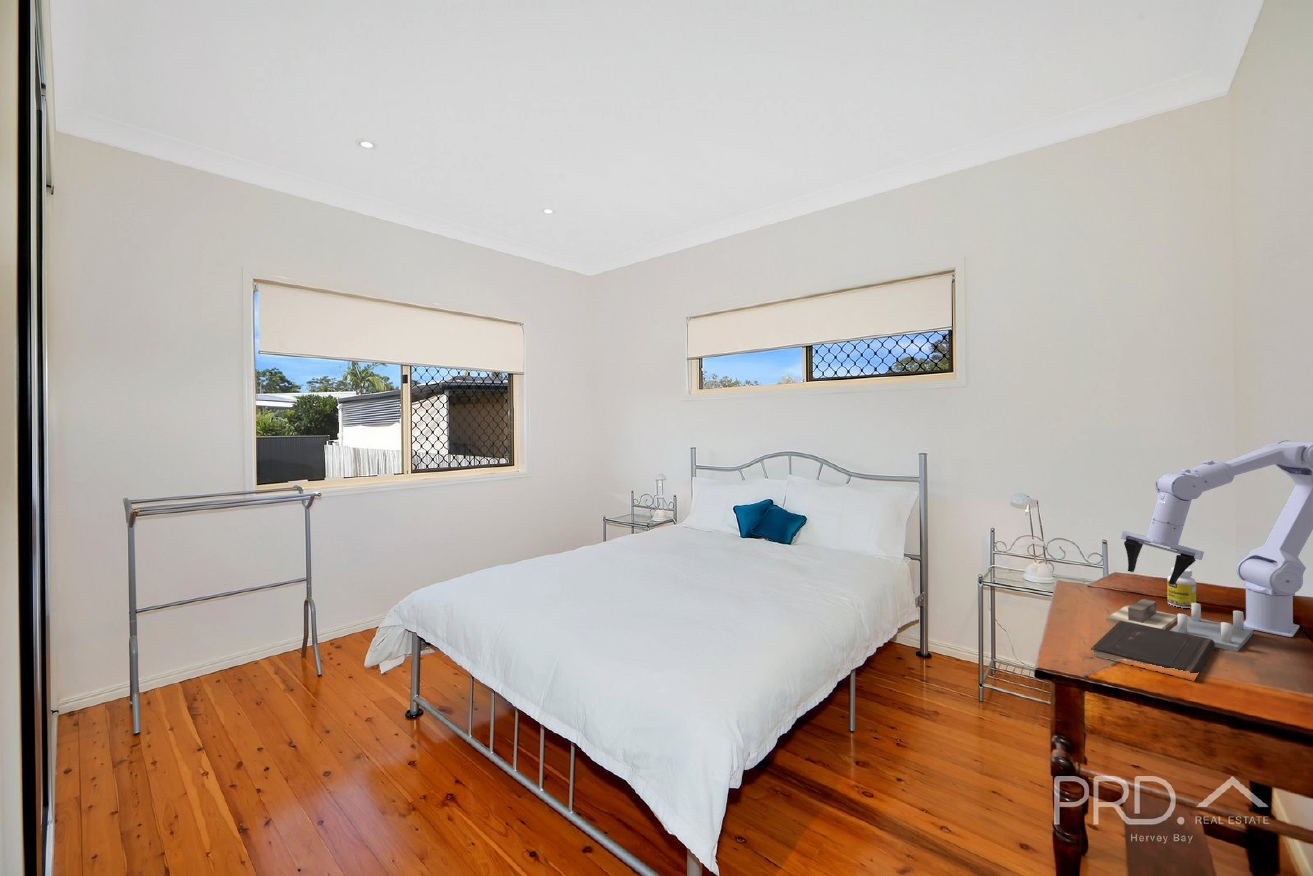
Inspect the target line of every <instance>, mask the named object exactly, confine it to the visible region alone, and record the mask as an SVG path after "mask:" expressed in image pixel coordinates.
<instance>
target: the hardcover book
mask: <svg viewBox="0 0 1313 876" xmlns="http://www.w3.org/2000/svg"><path fill="white" fill-rule="evenodd" d="M1170 630H1171V629H1160V628H1155V627H1150V626H1145V625H1140V624H1135V623H1131V622H1126V621H1121V620H1120V621H1119V622H1118V623H1117V624H1116V623H1115V625H1114V626H1113V627H1111V628H1110V630H1108V632H1106V633H1105V634H1104V635H1103V636H1102V637H1101V638H1100V639H1099V640H1098V641H1097V642H1096V643H1094V645H1092V646H1091V647H1090V650H1091V651H1092V652H1093V653H1092V654H1093V655H1092V656H1093V657H1095V658H1098V659H1099V658H1100V659H1103V660H1107V659H1110V660H1112V659H1113V660H1117V659H1127V660H1132V661H1137V662H1140V663H1143V664H1152V665H1156V666H1162V667H1164V668H1175V669H1178V670H1183V671H1189V672H1190V673H1198V672H1200V673H1201V671H1202V669H1203V668H1204V667H1205V665H1206V663H1207V661H1208V659H1209V657H1210V656H1211V655H1212V652H1213V650H1214V649H1215V648H1216V647H1215V643H1214V641H1213V640H1212V639H1209V638H1204V637H1199V636H1194V635H1190V634H1185V633H1180V632H1175V631H1170ZM1110 660H1109V661H1110Z"/></svg>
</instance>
